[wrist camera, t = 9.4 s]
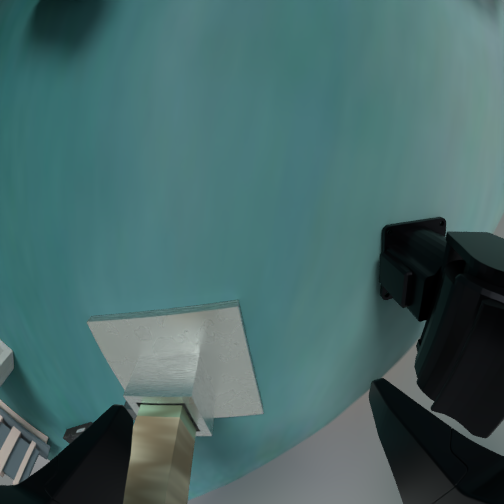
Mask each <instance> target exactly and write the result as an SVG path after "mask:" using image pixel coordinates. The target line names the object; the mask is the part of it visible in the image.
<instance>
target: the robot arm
mask: <svg viewBox="0 0 504 504" xmlns="http://www.w3.org/2000/svg"><path fill="white" fill-rule="evenodd" d="M440 222H441V225H440ZM389 229H390V233H389V234H387V232H388V230H389ZM445 233H446V220H445V219H444V218H442V217H436V218H429V219H423V220H416V221H409V222H403V223H396V224H390V225H386V226H385V227H384V228H383V230H382V253H381V255H380V277H379V282H380V283H381V290H380V296H381V297H382V298H383V299H384V300H388V299H392V298H394V299H395V300H396V301H397V303H398V304H399V305H400V306H401V307H402V308H405V307H407V308H408V309H409V310H410V312H411V313H412V314H413V315H414V316H415V317H416V319H417V320H418V321H419V322H421V321H424V320H427V321H426V324H425V327H424V329H423V332H422V335H421V338H420V339H419V340H418V342H417V345H416V347H417V351H418V354H417V356H416V360H415V370H416V374H417V378H418V379H417V384H418V386H419V388H420V389H421V390H422V391H423V393H425V394H426V395H427V396H428V397H429V398H430V399H432V400H433V401H435V402H434V403H433V405H432V406H431V410H432V411H434V412H438V413H442V414H445V415H447V416H449V417H451V418H453V419H455V420H456V421H458V422H459V423H460V424H461V425H463V426H464V427H465V428H466V429H467V430H468V431H469V432H470V433H471V434H473V435H475V436H478V437H482V438H487V437H489V436H490V435H491V434H492V432H493V431H494V430H495V429H496V428H497V427H498V426H499V424H500V423H501V422H502V421H503V420H504V239H503V238H501V237H498V236H496V235H493V234H491V233H487V232H447V235H446V237H445ZM387 292H388V293H387ZM386 293H387V294H386ZM385 294H386V295H385ZM369 401H370V405H371V409H372V412H373V416H374V420H375V424H376V428H377V432H378V436H379V438H380V441H381V444H382V446H383V448H384V451H385V454H386V457H387V459H388V462H389V465H390V467H391V470H392V473H393V476H394V478H395V481H396V484H397V486H398V490H399V492H400V495H401V498H402V501H403V504H504V456H501V455H499V454H497V453H495V452H493V451H490V450H489V449H487V448H485V447H482V446H481V445H479V444H477V443H475V442H473V441H471V440H470V439H468V438H466V437H465V436H463V435H462V434H460V433H459V432H457V431H456V430H454V429H453V428H452V429H451V427H450V426H449V425H447V424H446V423H444V422H443V421H442V420H440V419H439V418H437V417H436V416H435V415H433V414H432V413H431V412H429V411H428V410H426V409H425V408H423V407H422V406H421V405H419V404H418V403H417V402H415V401H414V400H413V399H411V398H410V397H408V396H407V395H406V394H404V393H403V392H402V391H400V390H399V389H398V388H396V387H395V386H394V385H392V384H391V383H390V382H388V381H387V380H385V379H384V378H380V379H377V380H373V381H372V383H371V387H370V392H369ZM132 434H133V418H132V416H131V415H130V413H129V412H128V411H127V409H126V408H125V407H124V406H123V405H116V404H115V405H112V406H111V407H110V408H109V409H108V410H107V411H106V412H105V413H104V414H102V415H101V416H100V417H99V418H98V419H97V420H96V421H95V422H94V423H93V424H91V425H90V426H89V427H88V428H87V429H86V430H85V431H84V432H83V433H82V434H80V435H79V436H78V437H77V438H76V439H75V440H74V441H73V442H72V443H70V444H69V445H68V446H67V447H66V448H65V449H64V450H63V451H61V452H60V453H59V454H58V455H57V456H56V457H55V458H53V459H52V460H51V461H50V462H49V463H48V464H46V465H45V466H44V467H43V468H41V469H40V470H38V471H37V472H36V473H34V474H33V475H31V476H30V477H28V478H27V479H25V480H24V481H22V482H21V483H19V484H16V485H10V486H6V485H0V504H123V501H124V493H125V487H126V480H127V474H128V468H129V462H130V456H131V447H132Z"/></svg>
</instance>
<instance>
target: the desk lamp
mask: <svg viewBox="0 0 504 504" xmlns="http://www.w3.org/2000/svg"><path fill="white" fill-rule="evenodd" d="M47 440H48V437H47V436H45V435H44V434H43V433H41V432H40V431H38V430H37V429H36V428H34V427H33V426H32V425H30V424H29V423H28V422H26V421H25V420H24V419H22V418H21V417H20V416H19V415H17V414H16V413H15V412H14V411H13V410H11V409H10V408H9V407H8V406H7V405H6V404H5V403H3V402H2V401H1V400H0V475H1V476H2V477H3V476H4V474H6V475H8V476H9V477H10V478H12V479H13V480H14V481H13V485H16V484H19V483H21V482H22V481H24V480H25V479H27V478H28V477H29V476H30V474H31V471H32V469H33V467H34V464H35V462H36V460H37V457H38V455H41V456H42V457H44V458H45V459H47V457H48V454H49V450H50V447H51V446H49V445H48V444H47Z"/></svg>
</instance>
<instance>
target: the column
mask: <svg viewBox="0 0 504 504" xmlns="http://www.w3.org/2000/svg"><path fill="white" fill-rule="evenodd" d="M195 435H196V428H195V427H194V425H193V423H192V421H191V420H190V418H189V416H188V415H187V413H186V411H185V409H184V408H183V406H182V405H140V408H139V411H138V414H137V417H136V420H135V423H134V426H133V434H132V447H131V456H130V462H129V468H128V474H127V480H126V487H125V493H124V501H123V504H187V502H188V492H189V484H190V475H191V467H192V458H193V451H194V443H195Z"/></svg>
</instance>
